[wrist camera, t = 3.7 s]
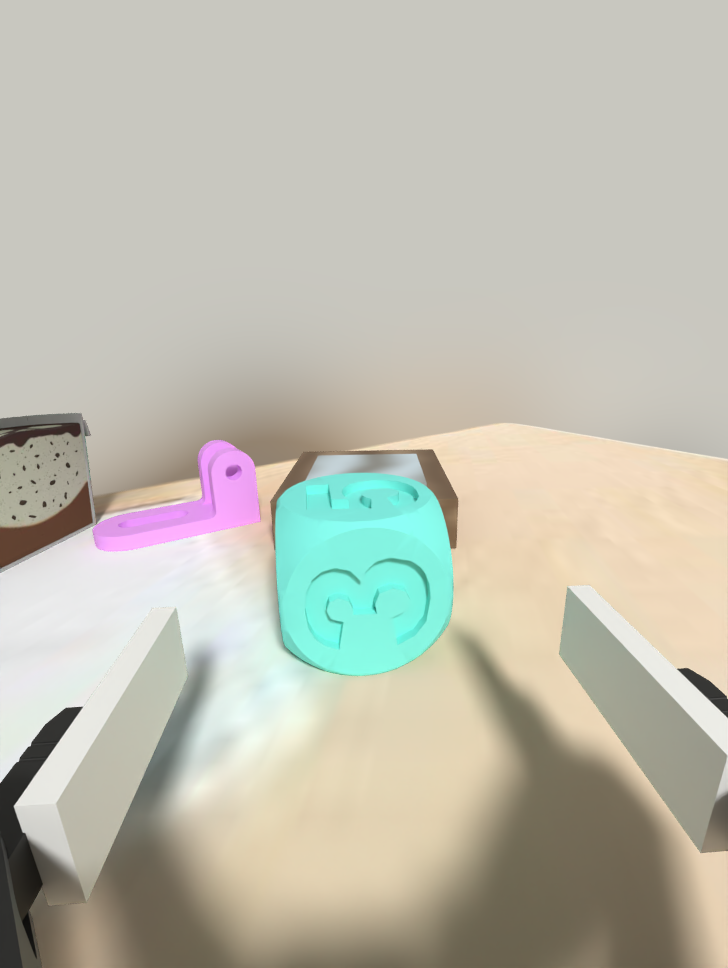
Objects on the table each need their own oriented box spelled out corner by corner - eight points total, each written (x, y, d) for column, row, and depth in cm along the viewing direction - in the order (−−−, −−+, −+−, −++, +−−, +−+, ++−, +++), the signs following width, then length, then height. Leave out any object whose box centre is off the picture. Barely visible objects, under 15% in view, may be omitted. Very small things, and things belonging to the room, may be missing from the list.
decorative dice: (290, 597, 29) (280, 476, 26) (413, 585, 30) (414, 468, 27) (286, 688, 21) (270, 530, 19) (451, 669, 22) (457, 516, 20)
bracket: (242, 505, 46) (235, 437, 44) (260, 523, 41) (252, 448, 39) (95, 534, 39) (78, 457, 37) (96, 559, 35) (77, 472, 33)
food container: (53, 515, 44) (28, 411, 41) (108, 518, 43) (86, 412, 40) (-91, 577, 32) (-142, 440, 29) (-22, 584, 31) (-67, 441, 28)
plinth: (274, 550, 35) (270, 497, 34) (305, 486, 50) (303, 449, 49) (456, 548, 35) (458, 494, 33) (431, 484, 50) (432, 446, 49)
